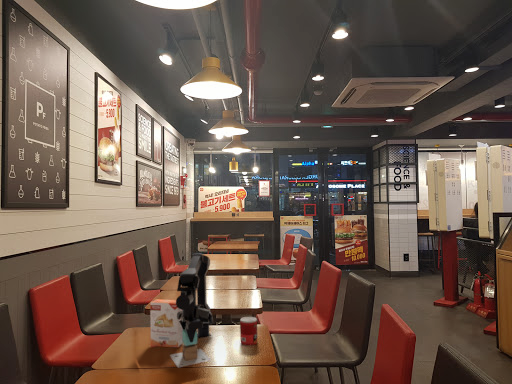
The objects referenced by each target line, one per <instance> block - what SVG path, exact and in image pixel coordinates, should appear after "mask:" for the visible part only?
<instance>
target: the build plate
mask: <svg viewBox="0 0 512 384" xmlns="http://www.w3.org/2000/svg"><path fill="white" fill-rule="evenodd" d="M169 357H170V359H171V360H172V361H173V363H174V364H175V366H176V367H177V368H179V369H180V368H183V367H187V366H192V365H196V364H197V365H198V364H200V363H205V362H206V363H207V362H211V361H212V359H211V358H210V357H209V356H208V355H207V354H206V353H205V352H204V350H203V349H202V348H197V359H193V360H188V361H185V359H184V358H183V357H182V351H181V352H177V353H172V354H169Z"/></svg>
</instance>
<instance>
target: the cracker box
mask: <svg viewBox="0 0 512 384" xmlns="http://www.w3.org/2000/svg"><path fill="white" fill-rule="evenodd" d="M149 305H150V311H149V313H150V314H149V315H150V348H154V347H166V348H167V347H168V348H169V347H170V348H179V347H180V346H182V345H183V344H184V343H183V342H182V330H183V329H182V327H181V324H180V322H179V321H180V320H181V318H180V320H178V319H177V313H178V312H179V311H182V309H179V308H178V307H177V305H176V299H161V298H160V299H158V298H156V299H154V300H152V301H150V304H149Z"/></svg>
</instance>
